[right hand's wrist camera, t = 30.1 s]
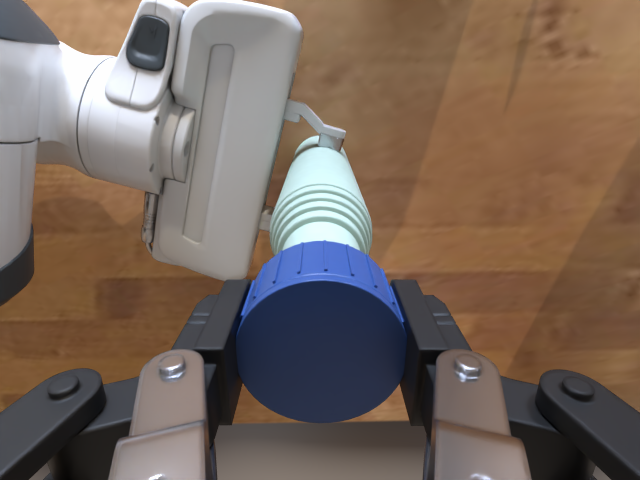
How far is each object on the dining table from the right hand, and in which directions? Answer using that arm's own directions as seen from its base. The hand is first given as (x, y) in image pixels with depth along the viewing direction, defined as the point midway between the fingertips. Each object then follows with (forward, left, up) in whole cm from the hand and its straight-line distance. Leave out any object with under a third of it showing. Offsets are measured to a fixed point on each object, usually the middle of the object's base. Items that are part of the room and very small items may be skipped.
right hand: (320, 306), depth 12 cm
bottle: (0, 0, -25) cm, 25 cm away
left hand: (-1, +1, -19) cm, 19 cm away
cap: (0, 0, +2) cm, 2 cm away
